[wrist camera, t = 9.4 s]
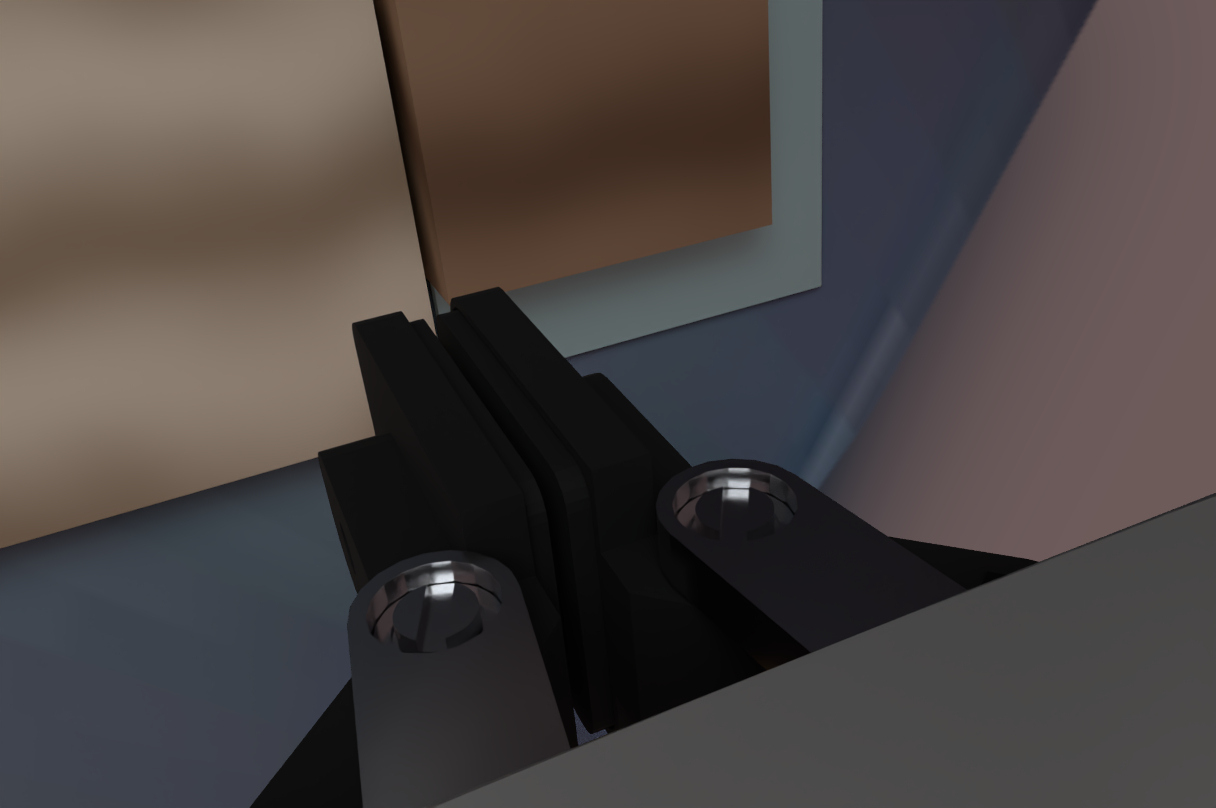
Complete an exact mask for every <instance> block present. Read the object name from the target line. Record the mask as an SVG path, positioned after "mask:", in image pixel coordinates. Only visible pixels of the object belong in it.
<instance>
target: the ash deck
mask: <svg viewBox="0 0 1216 808" xmlns="http://www.w3.org/2000/svg"><path fill="white" fill-rule="evenodd" d="M398 311H402V312H403V313H404V315H405V316H406V318H407V319H408V321H409V322H412V321H416V320H420V319H424V320H425V321H426V322H427V324H428V325H429V327H430V328H431V330H432V331H433V332H434V334H435V335H436V332H435V326H434V321H433V316H432V311H431V305H430V300H429V295H428V289H427V284H426V279H425V274H424V268H423V263H422V258H421V252H420V247H419V242H418V237H417V231H416V226H415V221H414V215H413V210H412V205H411V200H410V194H409V189H408V184H407V178H406V173H405V168H404V163H403V157H402V152H401V147H400V142H399V136H398V131H397V126H396V120H395V115H394V110H393V105H392V99H391V94H390V89H389V83H388V78H387V73H386V68H385V62H384V57H383V52H382V46H381V41H380V36H379V31H378V25H377V20H376V15H375V9H374V4H373V0H0V548H4V547H7V546H11V545H14V544H18V543H21V542H24V541H28V540H31V539H35V538H38V537H42V536H45V535H49V534H52V533H56V532H59V531H63V530H66V529H70V528H73V527H77V526H80V525H84V524H87V523H90V522H94V521H97V520H101V519H104V518H108V517H111V516H115V515H118V514H122V513H125V512H129V511H132V510H136V509H139V508H143V507H146V506H150V505H153V504H156V503H160V502H163V501H167V500H170V499H174V498H177V497H181V496H184V495H188V494H191V493H195V492H198V491H202V490H205V489H209V488H212V487H216V486H219V485H222V484H226V483H229V482H233V481H236V480H240V479H243V478H247V477H250V476H254V475H257V474H261V473H264V472H268V471H271V470H275V469H278V468H282V467H285V466H288V465H292V464H295V463H299V462H302V461H306V460H309V459H313V458H316V457H318V452H319V451H323V450H326V449H330V448H333V447H337V446H340V445H344V444H348V443H351V442H355V441H358V440H362V439H365V438H369V437H372V436H375V432H374V427H373V423H372V418H371V414H370V410H369V405H368V401H367V396H366V392H365V388H364V383H363V379H362V374H361V370H360V366H359V361H358V357H357V352H356V348H355V343H354V338H353V332H352V323H354V322H358V321H362V320H366V319H370V318H374V317H378V316H382V315H386V314H390V313H394V312H398Z"/></svg>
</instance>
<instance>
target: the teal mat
mask: <svg viewBox="0 0 1216 808" xmlns="http://www.w3.org/2000/svg"><path fill="white" fill-rule="evenodd" d="M768 27H769V80H770V133H771V186H772V225H768V226H764V227H760V228H756V229H752V230H748V231H744V232H740V233H737V234H733V235H729V236H725V237H721V238H717V239H713V240H709V241H705V242H701V243H697V244H693V245H689V246H685V247H681V248H677V249H673V250H669V251H665V252H661V253H657V254H653V255H649V256H645V257H641V258H638V259H634V260H630V261H626V262H622V263H618V264H614V265H610V266H606V267H602V268H598V269H594V270H590V271H586V272H582V273H578V274H574V275H570V276H566V277H562V278H558V279H554V280H550V281H546V282H542V283H539V284H535V285H531V286H527V287H523V288H519V289H515V290H511V291H507V292H505V293H506V294H507V295H508V296H509V297H510V298H511V299H512V300H513V302H514V303H515V304H516V305H517V306H518V307H519V308H520V309H521V310H522V311H523V313H524V314H525V315H526V316H527V317H528V318H529V319H530V320H531V321H532V322H533V324H534V325H535V326H536V327H537V328H538V329H539V330H540V331H541V332H542V333H543V335H544V336H545V337H546V338H547V339H548V340H549V341H550V342H551V343H552V345H553V346H554V347H555V348H556V349H557V350H558V351H559V352H560V353H561V354H562V356H563V357H564V358H566V357H569V356H573V355H576V354H580V353H584V352H587V351H591V350H594V349H598V348H602V347H605V346H609V345H612V344H616V343H619V342H623V341H627V340H630V339H634V338H637V337H641V336H645V335H648V334H652V333H655V332H659V331H662V330H666V329H670V328H673V327H677V326H680V325H684V324H688V323H691V322H695V321H698V320H702V319H705V318H709V317H713V316H716V315H720V314H723V313H727V312H731V311H734V310H738V309H741V308H745V307H748V306H752V305H756V304H759V303H763V302H766V301H770V300H774V299H777V298H781V297H784V296H788V295H792V294H795V293H799V292H802V291H806V290H809V289H813V288H817V287H820V286H821V235H822V0H768ZM430 286H431V291H432V297H433V302H434V307H435V313H436V317H437V315H439V314H443V313H447V312H450V306H449V304H448V303H447V302H446V301H445V300H444V298H443V297H442V296H441V295H440V294H439V292H438V291H437V290H436V289H435V288H434V287H433V285H432V284H431V283H430Z"/></svg>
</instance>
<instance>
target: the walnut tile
mask: <svg viewBox="0 0 1216 808" xmlns="http://www.w3.org/2000/svg"><path fill="white" fill-rule="evenodd" d="M373 4H374V9H375V15H376V20H377V25H378V31H379V36H380V41H381V46H382V52H383V57H384V62H385V68H386V73H387V78H388V83H389V89H390V94H391V99H392V105H393V110H394V115H395V120H396V126H397V131H398V136H399V142H400V147H401V152H402V157H403V163H404V168H405V173H406V178H407V184H408V189H409V194H410V200H411V205H412V210H413V215H414V221H415V226H416V231H417V237H418V242H419V247H420V252H421V258H422V263H423V268H424V274H425V277H426V278H427V279H428V281H429V282H430V283H431V284H432V285H433V287H434V288H435V289H436V290H437V291H438V292H439V294H440V295H441V296H442V297H443V298H444V300H445V301H446V302H447V303H448V304H449V306H450V302H451V299H452V298H454V297H458V296H462V295H467V294H471V293H475V292H479V291H483V290H487V289H491V288H495V287H500V288H501V289H503V291H504V292H507V291H511V290H515V289H519V288H523V287H527V286H531V285H535V284H539V283H542V282H546V281H550V280H554V279H558V278H562V277H566V276H570V275H574V274H578V273H582V272H586V271H590V270H594V269H598V268H602V267H606V266H610V265H614V264H618V263H622V262H626V261H630V260H634V259H638V258H641V257H645V256H649V255H653V254H657V253H661V252H665V251H669V250H673V249H677V248H681V247H685V246H689V245H693V244H697V243H701V242H705V241H709V240H713V239H717V238H721V237H725V236H729V235H733V234H737V233H740V232H744V231H748V230H752V229H756V228H760V227H764V226H768V225H772V186H771V133H770V80H769V27H768V0H373Z"/></svg>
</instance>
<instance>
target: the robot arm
mask: <svg viewBox="0 0 1216 808" xmlns="http://www.w3.org/2000/svg"><path fill="white" fill-rule="evenodd" d="M436 326H437V332H438V338H439V340H438V338H437V337H436V335H435V334H434V332H433V331H432V330H431V328H430V327H429V325H428V324H427V322H426V321H425V320H424V319H420V320H416V321H412V322H409V321H408V319H407V318H406V316H405V315H404V313H403V312H402V311H398V312H394V313H390V314H386V315H382V316H378V317H374V318H370V319H366V320H362V321H358V322H354V323H352V332H353V338H354V343H355V348H356V352H357V357H358V361H359V366H360V370H361V374H362V379H363V383H364V388H365V392H366V396H367V401H368V405H369V410H370V414H371V418H372V423H373V427H374V432H375V436H372V437H369V438H365V439H362V440H358V441H355V442H351V443H348V444H344V445H340V446H337V447H333V448H330V449H326V450H323V451H319V452H318V459H319V463H320V468H321V472H322V476H323V480H324V484H325V487H326V491H327V495H328V499H329V503H330V506H331V510H332V514H333V518H334V521H335V525H336V528H337V532H338V535H339V539H340V542H341V546H342V549H343V552H344V555H345V559H346V562H347V565H348V568H349V571H350V574H351V577H352V580H353V583H354V586H355V589H356V592H357V594H358V595H357V596H356V598H355V600H354V601H353V603H352V605H351V606H350V610H349V616H348V623H347V630H348V642H349V653H350V664H351V676H352V677H351V679H350V680H349V681H348V682H347V684H346V685H345V686H344V688H343V689H342V690H341V691H340V693H339V694H338V695H337V697H336V698H335V699H334V700H333V702H332V703H331V704H330V705H329V707H328V708H327V709H326V711H325V712H324V713H323V714H322V716H321V717H320V718H319V720H318V721H317V722H316V723H315V725H314V726H313V727H312V729H311V730H310V731H309V732H308V734H307V735H306V736H305V737H304V739H303V740H302V741H301V743H300V744H299V745H298V746H297V748H296V749H295V750H294V752H293V753H292V754H291V755H290V757H289V758H288V759H287V760H286V762H285V763H284V764H283V766H282V767H281V768H280V769H279V771H278V772H277V773H276V775H275V776H274V777H273V778H272V780H271V781H270V782H269V784H268V785H267V786H266V787H265V789H264V790H263V791H262V792H261V794H260V795H259V796H258V798H257V799H256V800H255V801H254V803H253V804H252V805H251V807H250V808H1216V493H1214V494H1211V495H1209V496H1206V497H1204V498H1201V499H1199V500H1196V501H1194V502H1191V503H1188V504H1186V505H1183V506H1181V507H1178V508H1176V509H1173V510H1171V511H1168V512H1165V513H1163V514H1161V515H1158V516H1155V517H1153V518H1150V519H1148V520H1145V521H1143V522H1140V523H1137V524H1135V525H1132V526H1130V527H1127V528H1125V529H1122V530H1119V531H1117V532H1114V533H1112V534H1109V535H1107V536H1104V537H1102V538H1099V539H1097V540H1094V541H1091V542H1089V543H1086V544H1084V545H1081V546H1079V547H1076V548H1074V549H1071V550H1069V551H1066V552H1063V553H1061V554H1058V555H1056V556H1053V557H1051V558H1048V559H1046V560H1043V561H1040V562H1037V561H1033V560H1029V559H1024V558H1017V557H1012V556H1005V555H999V554H993V553H987V552H981V551H974V550H968V549H962V548H956V547H950V546H943V545H937V544H931V543H924V542H919V541H913V540H906V539H900V538H893V537H888V536H886V535H885V534H883V533H882V532H880V531H878V530H877V529H875V528H874V527H872V526H871V525H870V524H868V523H867V522H865V521H864V520H862V519H861V518H859V517H858V516H856V515H855V514H853V513H852V512H850V511H849V510H847V509H846V508H844V507H843V506H841V505H840V504H838V503H837V502H835V501H834V500H832V499H831V498H829V497H828V496H826V495H825V494H823V493H822V492H820V491H819V490H818V489H816V488H815V487H813V486H812V485H810V484H809V483H807V482H806V481H804V480H803V479H801V478H800V477H798V476H797V475H795V474H793V473H791V472H789V471H787V470H785V469H783V468H781V467H779V466H777V465H773V464H769V463H765V462H761V461H757V460H744V459H726V460H717V461H709V462H706V463H703V464H699V465H696V466H693V467H692V466H691V465H690V464H689V463H688V462H687V461H686V460H685V459H684V458H683V457H682V456H681V455H680V454H679V453H678V452H677V451H676V450H675V449H674V448H673V446H672V445H671V444H670V443H669V442H668V441H667V440H666V439H665V438H664V437H663V436H662V435H661V434H660V433H659V432H658V431H657V430H656V429H655V428H654V426H653V425H652V424H651V423H650V422H649V421H648V420H647V419H646V418H645V417H644V416H643V415H642V414H641V413H640V412H639V411H638V410H637V409H636V408H635V407H634V405H633V404H632V403H631V402H630V401H629V400H628V399H627V398H626V397H625V396H624V395H623V394H622V393H621V392H620V391H619V390H618V389H617V388H616V387H615V386H614V384H613V383H612V382H611V381H610V380H609V379H608V378H607V377H605V376H604V375H603V374H601V373H594V374H590V375H587V376H583V377H582V376H581V375H580V374H579V373H578V372H577V371H576V370H575V369H574V368H573V367H572V365H571V364H570V363H569V362H568V361H567V360H566V359H565V358H564V357H563V356H562V354H561V353H560V352H559V351H558V350H557V349H556V348H555V347H554V346H553V345H552V343H551V342H550V341H549V340H548V339H547V338H546V337H545V336H544V335H543V333H542V332H541V331H540V330H539V329H538V328H537V327H536V326H535V325H534V324H533V322H532V321H531V320H530V319H529V318H528V317H527V316H526V315H525V314H524V313H523V311H522V310H521V309H520V308H519V307H518V306H517V305H516V304H515V303H514V302H513V300H512V299H511V298H510V297H509V296H508V295H507V294H506V293H505V292H504V291H503V289H501V288H500V287H495V288H491V289H487V290H483V291H479V292H475V293H471V294H467V295H462V296H458V297H454V298H452V299H451V302H450V312H447V313H443V314H439V315H437V317H436ZM573 707H574V709H575V711H576V713H577V715H578V716H579V718H580V720H581V722H582V723H583V725H584V727H585V728H586V730H587V731H588V732H589V733H590V734H593V733H596V732H598V731H601V730H603V729H606V731H607V733H608V734H607V735H604V736H602V737H599V738H596V739H594V740H591V741H589V742H586V743H584V744H581V745H579V746H578V741H577V732H576V724H575V717H574V710H573Z"/></svg>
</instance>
